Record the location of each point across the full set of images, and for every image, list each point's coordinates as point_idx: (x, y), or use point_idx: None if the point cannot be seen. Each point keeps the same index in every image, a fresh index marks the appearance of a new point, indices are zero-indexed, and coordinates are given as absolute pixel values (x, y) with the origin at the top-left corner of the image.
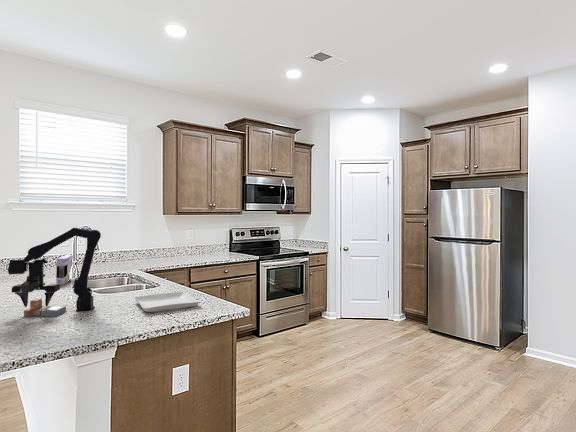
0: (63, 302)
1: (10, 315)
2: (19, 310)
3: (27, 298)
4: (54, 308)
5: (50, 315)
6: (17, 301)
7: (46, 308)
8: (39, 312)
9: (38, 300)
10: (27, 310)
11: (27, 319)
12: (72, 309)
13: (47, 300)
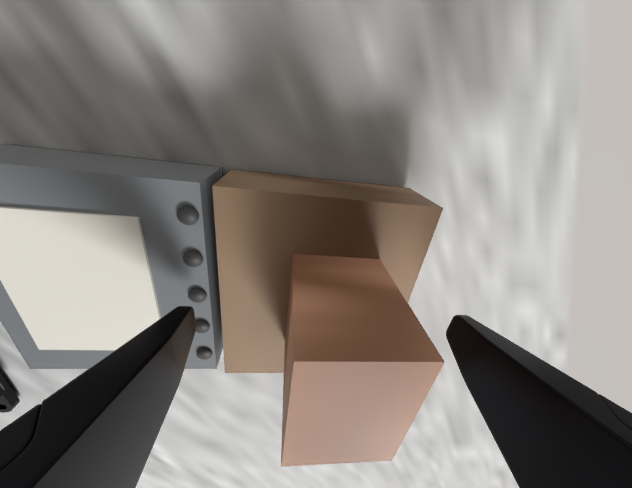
0: (274, 478)
1: (528, 250)
2: None
3: (516, 459)
4: (76, 280)
5: (92, 155)
6: (508, 479)
7: (196, 290)
8: (229, 180)
9: (288, 391)
10: (399, 213)
11: (320, 26)
12: None
13: (66, 388)
